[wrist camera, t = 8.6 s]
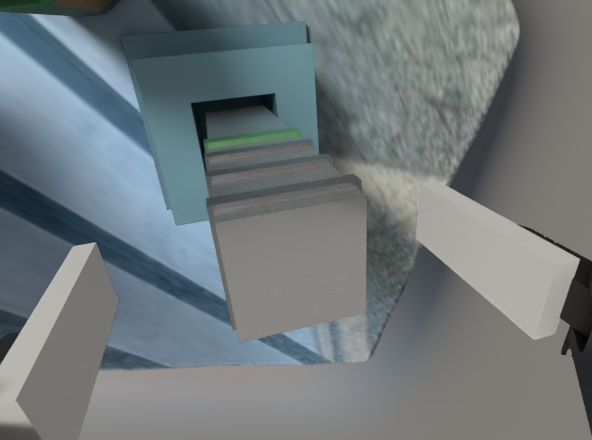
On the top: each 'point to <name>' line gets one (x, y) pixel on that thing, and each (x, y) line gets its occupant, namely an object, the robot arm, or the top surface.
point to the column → (282, 225)
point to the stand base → (215, 95)
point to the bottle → (58, 7)
